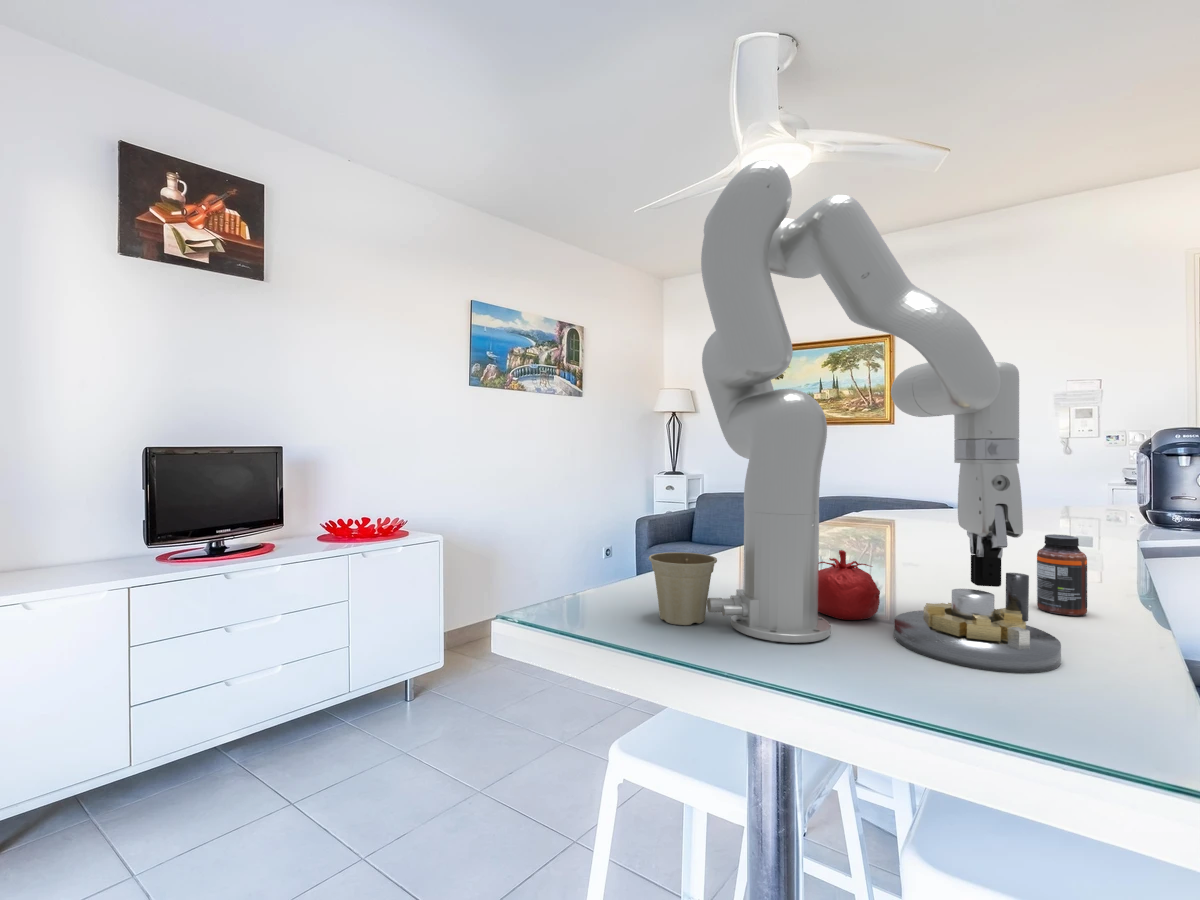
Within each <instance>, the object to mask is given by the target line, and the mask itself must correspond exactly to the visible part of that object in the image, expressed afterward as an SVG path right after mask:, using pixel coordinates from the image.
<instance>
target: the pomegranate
mask: <svg viewBox="0 0 1200 900" xmlns="http://www.w3.org/2000/svg"><path fill="white" fill-rule="evenodd" d="M838 555H839V558H840V560H838V559H837V558H835V557H833V558H829V561H834V563H832V562H826V561H819V565H820V564H827V565H829V567H825V568H822V569H819V573H818V613H821V614H823V615H826V616H829V617H832V618H836V619H839V620H843V621H844V620H845V621H846V620H849V621H857V620H858V621H859V620H867V619H869V618H872V617H873V616H875V615H876V614H877V613H878V611H879V606H880V603H881V602H880V594H881V591H880V590H879V589H880V588H878V585H877V584H876V582H875V580H874V579H873V577H872V575H871V574H870V573H869V572H866V571H865V570H863V569H861V568H859V566H867V567H870V568H873V567H874V566H872V565H869V564H866V563H860V562H858V561H856V560H853V561H852V562H848V563H847V552H846V551H845V550H843V549H840V550H838Z"/></svg>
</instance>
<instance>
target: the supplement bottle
mask: <svg viewBox="0 0 1200 900" xmlns="http://www.w3.org/2000/svg"><path fill="white" fill-rule="evenodd" d="M1079 540H1080V539H1079V537H1077V536H1074V535H1067V534H1055V533H1054V534H1045V535H1044V546H1043V547H1042V548H1039V550H1038V551H1037V553H1036V605H1037V607H1038V608H1039V610H1041V611H1044V612H1045V613H1046V612H1047V613H1049V614H1053V615H1054V614H1055V615H1062V616H1070V617H1074V616H1075V617H1077V616H1083V615H1086V614H1087V612H1088V559H1087V555H1086V554H1085V552H1083V551H1081V549H1080V548H1079V546H1080V544H1079Z"/></svg>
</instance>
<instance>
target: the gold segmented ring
mask: <svg viewBox="0 0 1200 900" xmlns="http://www.w3.org/2000/svg"><path fill="white" fill-rule="evenodd" d="M1029 587H1030V575H1029V574H1025V573H1019V572H1006V573H1005V607H1002V608H1001V607H1000V608H994V622H991V620H990V619H989V618H988V617H987V616H983V615H973V616H972V620H966V619H962V618H959V617H955V616H951V608H952V602H947V603H945V602H938V603H930V602H929V603H928V602H927V603H925V606H923V611H924V620H925V622H926V623H927V625H928V626H929V627H932V628H933V629H936V630H939V631H943V632H946V633H949V634H953V635H956V636H964V635H965V636H966V638H972V639H981V640H991V641H1000V642H1001V640H1004V641H1008V628H1009V627H1020V628H1023V629H1026V625H1027V622H1029V611H1030V610H1029V607H1030V606H1029V601H1030V599H1029V594H1030V593H1029V592H1030V590H1029V589H1030V588H1029Z"/></svg>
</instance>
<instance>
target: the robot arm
mask: <svg viewBox="0 0 1200 900" xmlns="http://www.w3.org/2000/svg"><path fill="white" fill-rule="evenodd" d="M792 195H793V192H792V185H791V180H790V178H789V175H788V173H787V172H786V170H785V169H784V167H783V166H782V165H780V164H779V163H777V162H775V161H772V160H767V159H766V160H758V161H754V162H752V163H751V164H748V165H746V166H745V167H743V168H742V169H741V170H739V171H738V172H737V173H736V174H734V176H733V177H732V179H730V181H729V182H728V183H727V184H726V186H725V187H724V189H723V190H722V191H721V193H720V194H719V196H718V198H717V199H716V202H715V203H714V205H713V206H712V207H711V209H710V210H709V213H708V214H707V216H706V218H705V221H704V224H703V241H702V246H701V253H700V255H701V257H700V259H701V260H700V262H701V263H700V265H701V268H700V269H701V277H702V283H703V286H704V287H703V288H704V292H705V295H706V299H707V302H708V306H709V311H710V314H711V318H712V320H713V324H714V329H715V331H714V332H712V333H711V334H710V336H709V337H708V338H707V340H706V342H705V344H704V346H703V350H702V353H701V354H702V355H701V365H702V366H701V367H702V372H703V378H704V381H705V384H706V387H707V390H708V394H709V396H710V399H711V403H712V406H713V409H714V412H715V415H716V417H717V421H718V424H719V427H720V429H721V433H722V435H723V437H724V439H725V441H726V443H727V445H728V446H729V448H731V450H732V451H733V452H734V453H735V454H737V455H738V456H740V457H742V458H744V459H747V460H748V463H747V469H746V474H745V480H744V487H743V488H744V489H743V576H742V577H743V587H742V589H740V588H739V589H735V591H736V592H735V593H736V595H733V594H732V595H730V596H729V598H728V597H727V598H722V597H708V599H707V606H706V609H707V612H708V613H710V614H711V613H712V614H713V613H722V616H725V617H727V616H729V617H730V624H731V626H732V628H733V629H734V630H735V631H737V632H740V633H741V634H744V635H747V636H748V637H753V638H755V639H760V640H764V641H771V642H778V643H792V644H793V643H795V644H798V643H799V644H803V643H814V642H819V641H820V642H821V641H822V640H825V639H826V638H829V636H830V635H831V633H832V632H831V629H832V628H831V624H830V623H831V622H829V621H828V620H827V619H825V618H823V617H822V616H819V612H818V573H819V570H820V569H819V568H820V567H819V565H820V564H819V562H820V559H819V558H820V557H819V556H820V555H819V553H820V551H819V549H820V548H819V547H820V485H821V484H820V482H821V474H822V473H821V472H822V466H823V460H824V456H825V455H824V453H825V450H826V444H827V438H828V424H827V423H828V422H827V418H826V415H825V413H824V409H823V407H822V406H821V405H820V403H819V402H818V401H817V399H815V398H814V397H812V396H811V395H809V394H808V393H806V392H804V391H802V390H798V389H793V388H780V389H774V387H773V383H772V380H774V379H776V378H777V377H779V376H781V375H782V374H783V373H785V371H786V370H787V369H788V367H789V366H790V364H791V362H792V358H793V354H794V353H793V352H794V351H793V350H794V349H793V344H792V339H791V337H790V334H789V330H788V327H787V324H786V322H785V321H786V320H785V317H784V314H783V312H782V309H781V305H780V302H779V298H778V296H777V293H776V289H775V286H774V282H773V280H772V274H774V275H776V276H777V275H778V276H783V277H788V278H793V279H810V278H814V277H815V276H819V275H820V276H821V277H822V278H823V280H824V281H825V283H826V285H827V287H828V288H829V290H830V291H831V292H832V294H833V296H834V297H835V298H836V300H837V301H838V303H839V305H840V306H841V308H842V309H843V311H844V312H845V315H846V316H847V317H848V319H849V320H850V321H851V322H853V323H855V324H857V325H859V326H862V327H865V328H868V329H871V330H875V331H879V332H883V333H887V334H890V335H893V336H894V337H897V338H899V339H901V340H903V341H905V342H906V343H908V344H909V345H911V346H912V347H913V348H914V349H915V350H916V351H918V353H920V354H921V356H922V357H923V358H924V359H925V360H926V362H925V363H924V362H923V363H919V364H915V365H913V366H911V367H908V368H906V369H904V370H903V371H901V372H900V373H899V374H898V375H896V377H895V379H894V381H893V383H892V384H891V388H890V389H891V390H890V396H891V399H892V401H893V403H894V405H895V406H896V407H897V409H899V411H901V412H903V413H905V414H907V415H909V416H913V417H917V418H927V417H928V418H932V417H942V416H952V415H953V417H954V420H953V421H954V423H953V424H954V426H953V427H954V432H953V433H954V434H953V435H954V443H953V444H954V446H953V447H954V453H953V455H954V459H953V460H954V461H953V463H954V464H955V463H956V464H959V474H958V488H957V519H958V522H957V523H958V525H959V526H960V528H962V529H963V530H965V531H966V535H967V537H968V538H969V551H970V582H971V583H972V584H974V585H975V586H977V587H978V586H979V587H996V588H997V587H999V588H1000V587H1001V586H1002V558H1003V553H1004V552H1003V550H1004V549H1005V548H1008V538H1007V537H1011V538H1015V539H1017V538H1020V537H1021V536H1022V535H1023V533H1024V525H1023V524H1024V521H1023V517H1024V516H1023V500H1022V489H1021V480H1020V474H1019V468H1018V464H1020V372H1019V369H1018V367H1017V366H1016V365H1015V364H1013V363H1010V362H1004V361H1002V362H1001V361H999V362H998V361H995V359H994V357H993V354H992V353H991V352H990V350H989V348H988V347H987V345H986V344H985V342H984V341H983V339H982V337H981V336H980V334H979V332H978V331H977V330H976V328H975V327H974V326H973V325H972V323H971V322H970V321H969V320H968V319H967V318H966V317H965V316H963V315H962V314H961V313H960V312H958V311H957V310H956V309H955V308H953V307H951V306H950V305H948V304H946V303H945V302H944V301H942V300H940V299H939V298H937V297H936V296H934V295H932V294H931V293H929V292H928V291H925V290H924V289H921V288H920V287H918V286H916V285H915V284H913V283H912V282H911V280H910V279H909V278H908V276H907V275H906V272H904V270H903V268H902V267H901V265H900V264H899V262H898V260H897V259H896V257H895V256H894V254H893V252H892V250H890V248H889V246H888V245H887V242H886V241H885V240H884V239H883V237H882V235H881V233H880V232H879V230H878V229H877V228H876V226H875V224H874V223H873V221H872V219H871V217H870V216H869V215H868V213H867V212H866V210H865V209H864V207H863V206H862V204H861V203H860V202H859V201H858V200H857V199H856V198H854V197H853V196H852V195H851V196H850V195H848V194H841V193H839V194H834V195H831V196H830V195H829V196H828V197H824V199H821V200H820V201H818V202H816V203H814V204H813V205H812V206H810V207H809V208H808V209H807V210H805V211H804V212H803V213H802V214H801V215H800V216H798V217H797V218H790V217H787V215H788V213H789V210H790V208H791V204H792V197H793V196H792Z"/></svg>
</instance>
